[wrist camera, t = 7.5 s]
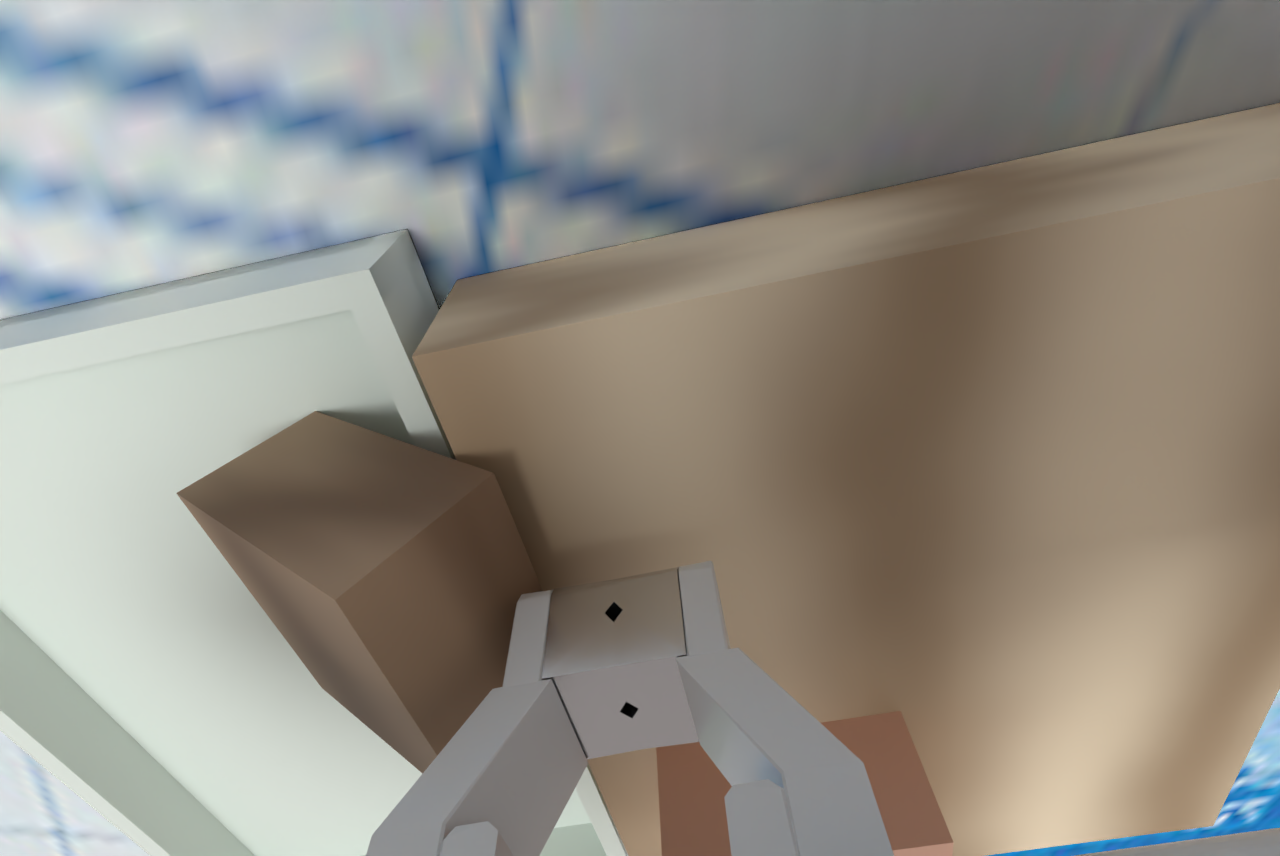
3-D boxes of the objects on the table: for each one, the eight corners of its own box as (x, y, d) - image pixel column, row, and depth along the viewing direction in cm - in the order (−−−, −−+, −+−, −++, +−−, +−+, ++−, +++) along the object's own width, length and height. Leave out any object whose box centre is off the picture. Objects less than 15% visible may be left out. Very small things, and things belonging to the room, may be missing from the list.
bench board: (1323, 93, 10) (1554, 121, 8) (1132, 715, 19) (1213, 825, 16) (457, 279, 12) (411, 356, 9) (643, 785, 20) (647, 899, 17)
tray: (406, 228, 11) (369, 268, 9) (634, 805, 20) (635, 877, 19) (-226, 370, 12) (-363, 429, 10) (269, 857, 21) (239, 930, 20)
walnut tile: (493, 473, 9) (335, 600, 8) (586, 697, 12) (482, 824, 10) (315, 410, 12) (176, 493, 11) (421, 600, 15) (322, 688, 13)
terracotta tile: (900, 710, 13) (953, 842, 11) (899, 836, 16) (942, 962, 14) (655, 747, 14) (662, 880, 12) (694, 863, 16) (706, 989, 14)
